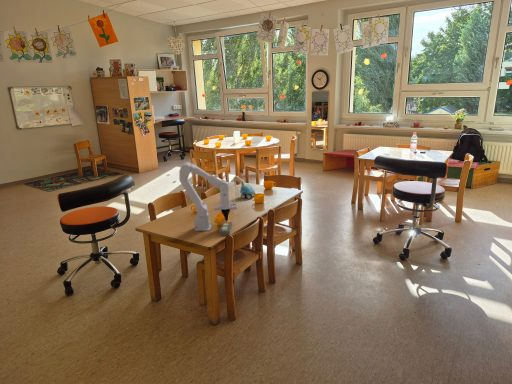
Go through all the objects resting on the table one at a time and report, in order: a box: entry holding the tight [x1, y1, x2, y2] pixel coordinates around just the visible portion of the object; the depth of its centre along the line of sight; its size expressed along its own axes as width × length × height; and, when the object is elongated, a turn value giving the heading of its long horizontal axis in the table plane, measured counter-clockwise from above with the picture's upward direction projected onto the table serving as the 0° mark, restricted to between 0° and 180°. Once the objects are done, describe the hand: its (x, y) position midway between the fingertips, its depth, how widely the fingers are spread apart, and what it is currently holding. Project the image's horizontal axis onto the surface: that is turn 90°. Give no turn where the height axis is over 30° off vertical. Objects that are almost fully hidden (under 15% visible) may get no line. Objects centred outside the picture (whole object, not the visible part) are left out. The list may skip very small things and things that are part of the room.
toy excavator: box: [233, 175, 256, 200], centre depth 278 cm, size 9×17×17 cm, turn 64°
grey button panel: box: [219, 221, 233, 236], centre depth 217 cm, size 6×15×2 cm, turn 178°
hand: (226, 220), depth 222 cm, fingers closed
